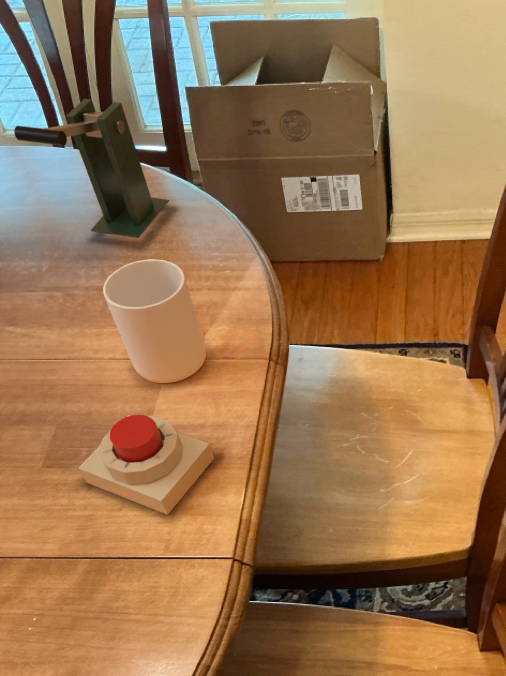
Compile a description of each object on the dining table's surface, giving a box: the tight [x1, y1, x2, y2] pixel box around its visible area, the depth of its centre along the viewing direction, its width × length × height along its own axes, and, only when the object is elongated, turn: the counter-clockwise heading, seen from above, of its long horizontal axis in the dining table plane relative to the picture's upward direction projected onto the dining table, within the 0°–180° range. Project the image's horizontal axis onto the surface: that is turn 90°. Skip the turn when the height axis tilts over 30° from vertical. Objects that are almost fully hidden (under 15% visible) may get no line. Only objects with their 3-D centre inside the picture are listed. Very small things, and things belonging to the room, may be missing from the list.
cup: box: [102, 258, 207, 384], centre depth 84 cm, size 8×12×10 cm
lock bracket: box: [65, 98, 170, 239], centre depth 97 cm, size 9×7×15 cm
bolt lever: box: [13, 110, 104, 147], centre depth 88 cm, size 13×6×2 cm, turn 164°
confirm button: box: [109, 414, 163, 463], centre depth 73 cm, size 4×4×2 cm
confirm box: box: [78, 414, 215, 516], centre depth 75 cm, size 10×8×4 cm
